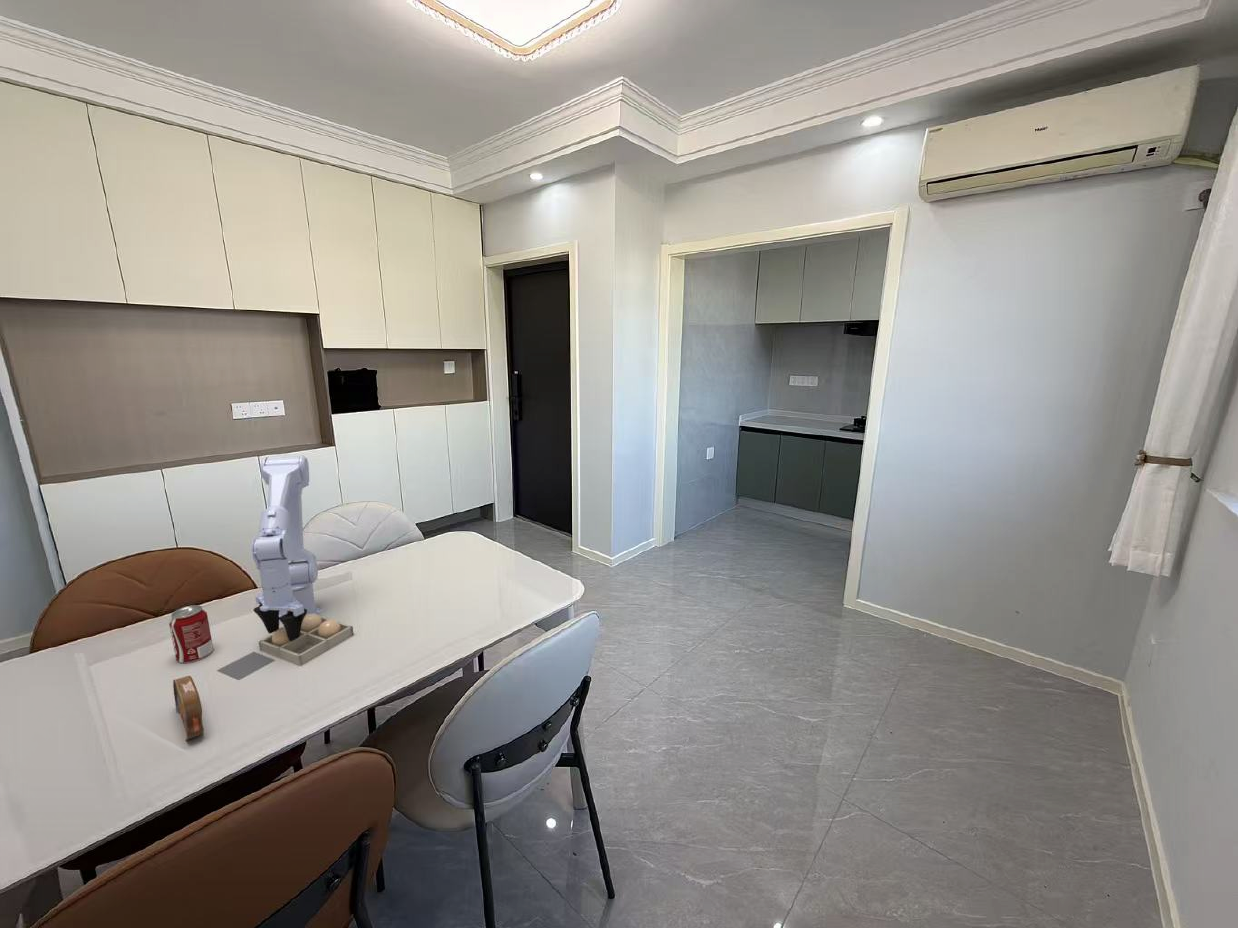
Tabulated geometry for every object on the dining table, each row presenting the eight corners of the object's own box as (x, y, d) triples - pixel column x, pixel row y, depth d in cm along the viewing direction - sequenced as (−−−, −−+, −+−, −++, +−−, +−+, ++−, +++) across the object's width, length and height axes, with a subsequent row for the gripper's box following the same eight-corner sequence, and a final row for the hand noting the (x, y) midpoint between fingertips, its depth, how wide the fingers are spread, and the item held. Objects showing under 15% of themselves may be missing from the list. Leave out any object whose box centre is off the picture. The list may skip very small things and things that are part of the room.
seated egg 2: (314, 641, 124) (311, 623, 123) (332, 631, 129) (330, 614, 128) (328, 646, 122) (325, 628, 121) (346, 636, 127) (344, 618, 126)
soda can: (220, 652, 120) (212, 606, 118) (189, 668, 114) (180, 621, 111) (201, 646, 122) (193, 601, 120) (169, 662, 116) (160, 615, 113)
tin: (175, 709, 101) (167, 673, 99) (195, 702, 103) (188, 666, 102) (187, 750, 91) (179, 710, 89) (209, 740, 94) (202, 701, 92)
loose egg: (268, 649, 121) (265, 630, 120) (288, 638, 125) (286, 620, 124) (282, 654, 119) (279, 635, 118) (302, 643, 123) (299, 625, 122)
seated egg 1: (295, 635, 127) (293, 617, 126) (314, 625, 131) (312, 608, 130) (309, 639, 125) (306, 621, 124) (327, 630, 130) (325, 612, 128)
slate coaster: (216, 672, 113) (216, 670, 113) (254, 653, 120) (253, 651, 120) (239, 682, 110) (238, 680, 109) (275, 662, 117) (275, 660, 117)
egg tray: (260, 652, 120) (258, 641, 120) (315, 624, 133) (314, 613, 132) (300, 668, 115) (298, 656, 114) (353, 636, 128) (352, 626, 127)
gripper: (239, 584, 118) (247, 636, 121) (279, 597, 112) (287, 651, 115) (269, 572, 124) (277, 622, 127) (309, 584, 118) (316, 635, 121)
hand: (283, 635), depth 121 cm, fingers open, 7 cm apart
